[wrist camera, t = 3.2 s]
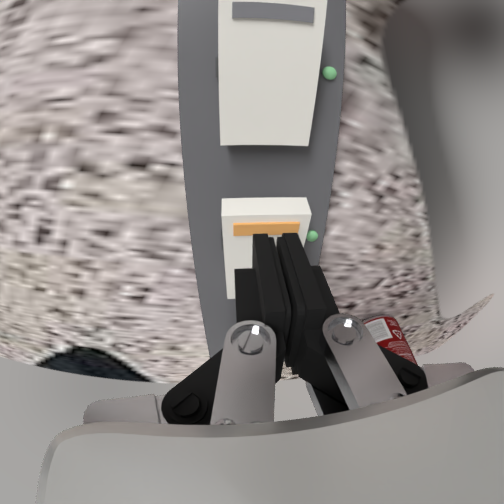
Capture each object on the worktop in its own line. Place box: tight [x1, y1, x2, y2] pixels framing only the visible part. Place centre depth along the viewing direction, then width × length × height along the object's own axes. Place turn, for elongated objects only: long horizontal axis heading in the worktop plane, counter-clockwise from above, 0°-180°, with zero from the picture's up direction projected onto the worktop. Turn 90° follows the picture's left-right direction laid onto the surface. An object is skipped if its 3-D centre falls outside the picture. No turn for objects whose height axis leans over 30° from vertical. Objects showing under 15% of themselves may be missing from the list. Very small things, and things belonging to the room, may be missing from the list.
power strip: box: [178, 0, 346, 361], centre depth 16 cm, size 34×8×5 cm, turn 179°
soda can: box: [362, 315, 417, 364], centre depth 25 cm, size 7×7×12 cm
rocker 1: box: [218, 0, 327, 146], centre depth 10 cm, size 7×4×1 cm, turn 179°
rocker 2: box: [221, 197, 312, 299], centre depth 15 cm, size 7×4×1 cm, turn 179°
